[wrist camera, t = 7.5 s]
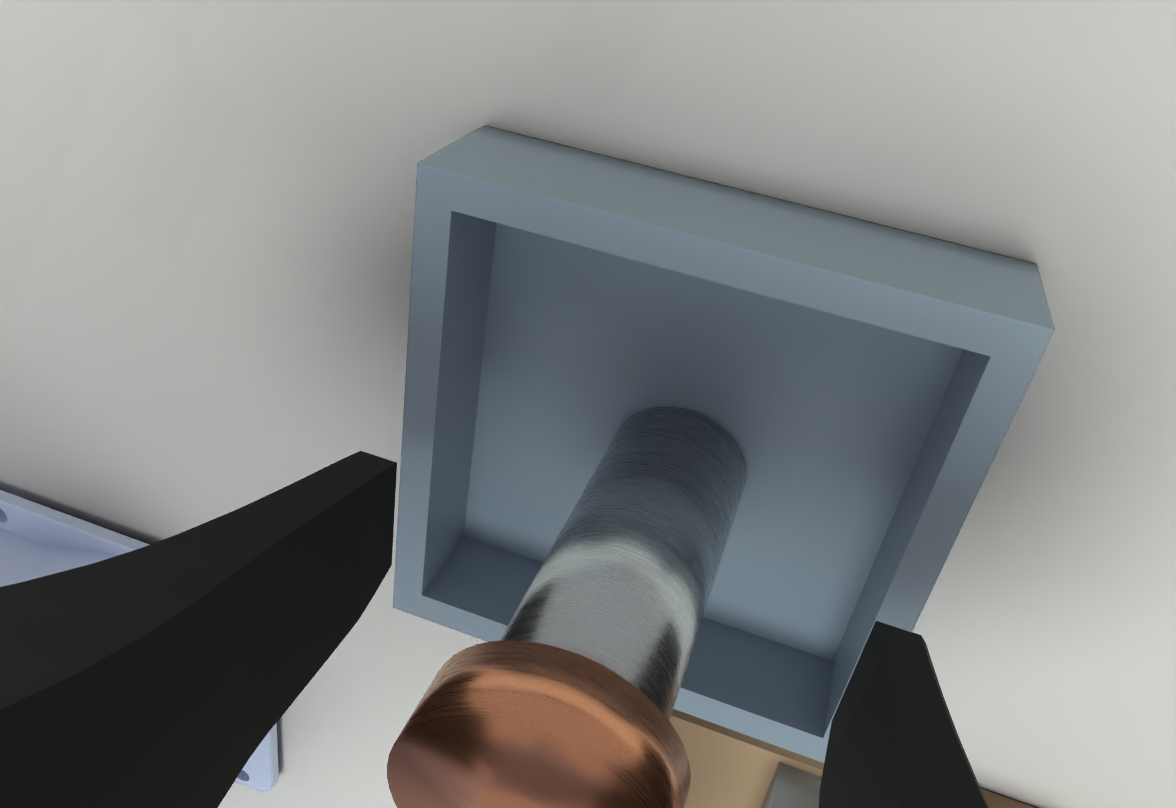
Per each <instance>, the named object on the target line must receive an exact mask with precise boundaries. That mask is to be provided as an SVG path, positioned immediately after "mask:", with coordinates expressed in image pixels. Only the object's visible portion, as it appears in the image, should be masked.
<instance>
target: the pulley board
mask: <svg viewBox="0 0 1176 808" xmlns="http://www.w3.org/2000/svg"><path fill="white" fill-rule="evenodd" d="M670 722H671V724H672V726H673V727H674V729H675V730H676V732H677V733H678V735H679V737H680V739H681V741H682V743H683V745H684V747H685V750H686V753H687V756H688V760H689V764H690V772H691V780H690V789H689V793H688V796H687V800H686V804H685V807H684V808H819V794H820V785H821V779H822V773H823V767H824V763H822V762H820V761H817V760H814V759H811V758H809V757H806V756H803V755H800V754H797V753H795V752H792V751H789V750H786V749H784V748H781V747H778V746H775V745H773V744H770V743H767V742H764V741H761V740H759V739H756V738H753V737H750V736H748V735H745V734H742V733H739V732H737V731H734V730H731V729H728V728H725V727H723V726H720V725H717V724H714V723H712V722H709V721H706V720H703V719H701V718H698V717H695V716H692V715H690V714H687V713H684V712H681V711H678V710H676V709H673V712H672V715H671V718H670ZM980 789H981V788H980ZM981 791H982V793H983V795H984V798H985V800H986V802H987V804H988V806H989V808H1035V807H1032V806H1029V805H1026V804H1024V803H1021V802H1018V801H1015V800H1012V799H1010V798H1007V797H1004V796H1001V795H998V794H995V793H993V792H990V791H987V790H984V789H981Z"/></svg>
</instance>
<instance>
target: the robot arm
mask: <svg viewBox="0 0 1176 808" xmlns="http://www.w3.org/2000/svg"><path fill="white" fill-rule="evenodd" d="M396 470H397V463H396V462H393V461H390V460H387V459H384V458H381V457H378V456H375V455H372V454H369V453H366V452H362V451H359V452H357V453H355V454H353V455H350V456H348V457H346V458H344V459H342V460H340V461H338V462H336V463H334V464H332V465H329V466H327V467H325V468H323V469H321V470H319V471H317V472H315V473H313V474H311V475H309V476H307V477H305V478H303V479H301V480H299V481H297V482H295V483H293V484H291V485H289V486H287V487H284V488H282V489H280V490H278V491H276V492H274V493H272V494H270V495H267V496H265V497H263V498H261V499H259V500H257V501H255V502H253V503H250V504H248V505H246V506H244V507H242V508H240V509H237V510H235V511H233V512H230V513H228V514H225V515H223V516H221V517H218V518H216V519H213V520H211V521H209V522H206V523H204V524H201V525H199V526H197V527H194V528H192V529H190V530H187V531H185V532H182V533H180V534H178V535H175V536H172V537H170V538H167V539H164V540H162V541H159V542H156V543H153V544H151V545H149V544H147V543H144V542H141V541H138V540H136V539H133V538H130V537H128V536H125V535H122V534H119V533H117V532H114V531H111V530H109V529H106V528H103V527H100V526H98V525H95V524H92V523H89V522H87V521H84V520H81V519H79V518H76V517H73V516H70V515H68V514H65V513H62V512H59V511H57V510H54V509H51V508H49V507H46V506H43V505H40V504H38V503H35V502H32V501H29V500H27V499H24V498H21V497H19V496H16V495H13V494H10V493H8V492H5V491H2V490H0V808H217V807H218V806H219V804H220V803H221V801H222V800H223V798H224V797H225V795H226V794H227V792H228V790H229V789H230V787H231V786H232V784H233V783H234V781H235V782H238V783H240V784H243V785H245V786H248V787H250V788H252V789H255V790H257V791H261V792H268V791H270V790H271V789H272V788H273V787H274V786H275V784H276V783H277V781H278V778H279V772H278V746H277V721H278V720H279V719H280V717H281V716H282V715H283V714H284V713H285V711H286V710H287V709H288V708H289V706H290V705H291V704H292V703H293V701H294V700H295V699H296V698H297V696H298V695H299V694H300V693H301V691H302V690H303V689H304V688H305V686H306V685H307V684H308V683H309V681H310V680H311V679H312V678H313V677H314V675H315V674H316V673H317V672H318V670H319V669H320V668H321V667H322V665H323V664H324V663H325V662H326V660H327V659H328V658H329V657H330V655H331V654H332V653H333V652H334V650H335V649H336V648H337V647H338V645H339V644H340V643H341V641H342V640H343V639H344V638H345V636H346V635H347V634H348V633H349V631H350V630H351V629H352V627H353V626H354V625H355V624H356V622H357V621H358V620H359V618H360V617H361V615H362V613H363V612H364V610H365V609H366V607H367V605H368V604H369V602H370V601H371V599H372V597H373V596H374V594H375V592H376V591H377V589H378V587H379V585H380V584H381V582H382V580H383V579H384V577H385V575H386V574H387V572H388V570H389V568H390V567H391V565H392V546H393V527H394V508H395V489H396ZM819 808H989V806H988V804H987V802H986V800H985V798H984V795H983V793H982V791H981V789H980V787H979V784H978V782H977V780H976V777H975V775H974V773H973V770H972V768H971V765H970V763H969V761H968V758H967V756H966V754H965V751H964V749H963V746H962V744H961V742H960V739H959V737H958V734H957V731H956V729H955V726H954V724H953V721H952V718H951V716H950V713H949V710H948V708H947V705H946V702H945V699H944V697H943V694H942V691H941V688H940V685H939V682H938V679H937V676H936V673H935V670H934V667H933V664H932V661H931V658H930V655H929V652H928V649H927V645H926V643H925V641H924V640H923V638H922V636H921V635H918V634H915V633H912V632H909V631H906V630H903V629H900V628H897V627H894V626H891V625H888V624H885V623H882V622H879V621H875V624H874V626H873V628H872V631H871V633H870V635H869V637H868V640H867V642H866V644H865V646H864V649H863V651H862V653H861V656H860V658H859V660H858V662H857V665H856V667H855V669H854V671H853V674H852V676H851V678H850V681H849V683H848V685H847V687H846V690H845V692H844V694H843V696H842V699H841V701H840V703H839V706H838V708H837V710H836V712H835V715H834V717H833V719H832V723H831V729H830V734H829V739H828V745H827V750H826V756H825V761H824V767H823V773H822V779H821V785H820V794H819Z"/></svg>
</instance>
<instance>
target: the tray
mask: <svg viewBox="0 0 1176 808" xmlns="http://www.w3.org/2000/svg"><path fill="white" fill-rule="evenodd" d="M1054 330H1055V328H1054V325H1053V321H1052V318H1051V314H1050V310H1049V307H1048V303H1047V300H1046V296H1045V292H1044V289H1043V285H1042V282H1041V278H1040V274H1039V271H1038V267H1037V264H1034V263H1030V262H1026V261H1022V260H1018V259H1014V258H1010V257H1006V256H1002V255H998V254H994V253H990V252H986V251H982V250H978V249H974V248H970V247H966V246H962V245H958V244H955V243H951V242H947V241H943V240H939V239H935V238H931V237H927V236H923V235H919V234H915V233H911V232H907V231H903V230H899V229H895V228H891V227H887V226H883V225H879V224H875V223H871V222H867V221H863V220H859V219H855V218H851V217H847V216H843V215H839V214H835V213H831V212H827V211H823V210H819V209H815V208H811V207H807V206H803V205H799V204H795V203H791V202H787V201H783V200H779V199H775V198H771V197H767V196H763V195H759V194H755V193H751V192H747V191H743V190H739V189H735V188H731V187H727V186H723V185H719V184H715V183H711V182H707V181H703V180H699V179H695V178H691V177H687V176H683V175H679V174H675V173H671V172H667V171H663V170H659V169H655V168H651V167H647V166H643V165H639V164H635V163H631V162H627V161H623V160H619V159H615V158H611V157H607V156H603V155H599V154H595V153H591V152H587V151H583V150H579V149H575V148H571V147H567V146H563V145H559V144H555V143H551V142H548V141H544V140H540V139H536V138H532V137H528V136H524V135H520V134H516V133H512V132H508V131H504V130H500V129H496V128H492V127H488V126H483V127H481V128H479V129H477V130H475V131H474V132H472V133H470V134H468V135H466V136H465V137H463V138H461V139H459V140H457V141H456V142H454V143H452V144H450V145H448V146H447V147H445V148H443V149H441V150H439V151H437V152H436V153H434V154H432V155H430V156H428V157H427V158H425V159H423V160H421V161H419V162H418V164H417V182H416V200H415V218H414V236H413V254H412V272H411V290H410V308H409V326H408V344H407V362H406V380H405V398H404V416H403V434H402V452H401V469H400V487H399V505H398V523H397V541H396V559H395V577H394V595H393V608H396V609H399V610H402V611H404V612H407V613H410V614H413V615H415V616H418V617H421V618H424V619H426V620H429V621H432V622H435V623H438V624H440V625H443V626H446V627H449V628H451V629H454V630H457V631H460V632H462V633H465V634H468V635H471V636H474V637H476V638H479V639H482V640H485V641H487V642H491V641H500V639H501V637H502V635H503V634H504V632H505V630H506V628H507V627H508V625H509V623H510V621H511V619H512V618H513V616H514V614H515V612H516V610H517V609H518V607H519V605H520V603H521V602H522V600H523V598H524V596H525V594H526V593H527V591H528V589H529V587H530V585H531V584H532V582H533V580H534V578H535V577H536V575H537V573H538V571H539V569H540V568H541V566H542V564H543V562H544V560H545V559H546V557H547V555H548V553H549V552H550V550H551V548H552V546H553V544H554V543H555V541H556V539H557V537H558V535H559V534H560V532H561V530H562V528H563V527H564V525H565V523H566V521H567V519H568V518H569V516H570V514H571V512H572V510H573V509H574V507H575V505H576V503H577V502H578V500H579V498H580V496H581V494H582V493H583V491H584V489H585V487H586V485H587V484H588V482H589V480H590V478H591V477H592V475H593V473H594V471H595V469H596V468H597V466H598V464H599V462H600V460H601V459H602V457H603V455H604V453H605V452H606V450H607V448H608V446H609V444H610V443H611V441H612V439H613V437H614V435H615V434H616V432H617V430H618V429H619V428H620V426H621V425H622V424H623V423H624V422H625V421H626V420H627V419H629V418H630V417H632V416H633V415H635V414H637V413H639V412H641V411H644V410H647V409H652V408H657V407H676V408H682V409H686V410H690V411H693V412H696V413H698V414H701V415H703V416H705V417H707V418H709V419H710V420H712V421H713V422H715V423H716V424H718V425H719V426H720V427H721V428H723V429H724V430H725V431H726V432H727V433H728V434H729V435H730V436H731V438H732V439H733V440H734V442H735V443H736V444H737V446H738V448H739V450H740V452H741V454H742V457H743V459H744V463H745V468H746V482H745V487H744V490H743V493H742V497H741V500H740V503H739V506H738V509H737V512H736V515H735V518H734V521H733V525H732V528H731V531H730V534H729V537H728V540H727V543H726V546H725V550H724V553H723V556H722V559H721V562H720V565H719V568H718V571H717V575H716V578H715V581H714V584H713V587H712V590H711V593H710V596H709V599H708V603H707V606H706V609H705V612H704V615H703V618H702V621H701V624H700V628H699V631H698V634H697V637H696V640H695V643H694V646H693V649H692V653H691V656H690V659H689V662H688V665H687V668H686V671H685V674H684V677H683V681H682V684H681V687H680V690H679V693H678V696H677V699H676V702H675V706H674V709H676V710H678V711H681V712H684V713H687V714H690V715H692V716H695V717H698V718H701V719H703V720H706V721H709V722H712V723H714V724H717V725H720V726H723V727H725V728H728V729H731V730H734V731H737V732H739V733H742V734H745V735H748V736H750V737H753V738H756V739H759V740H761V741H764V742H767V743H770V744H773V745H775V746H778V747H781V748H784V749H786V750H789V751H792V752H795V753H797V754H800V755H803V756H806V757H809V758H811V759H814V760H817V761H820V762H822V763H824V761H825V756H826V750H827V745H828V739H829V734H830V729H831V723H832V719H833V717H834V715H835V712H836V710H837V708H838V706H839V703H840V701H841V699H842V696H843V694H844V692H845V690H846V687H847V685H848V683H849V681H850V678H851V676H852V674H853V671H854V669H855V667H856V665H857V662H858V660H859V658H860V656H861V653H862V651H863V649H864V646H865V644H866V642H867V640H868V637H869V635H870V633H871V631H872V628H873V626H874V624H875V621H879V622H882V623H885V624H888V625H891V626H894V627H897V628H900V629H903V630H906V631H909V632H912V631H913V629H914V626H915V624H916V622H917V620H918V618H919V616H920V614H921V612H922V610H923V607H924V605H925V603H926V601H927V599H928V597H929V595H930V593H931V591H932V588H933V586H934V584H935V582H936V580H937V578H938V576H939V574H940V572H941V569H942V567H943V565H944V563H945V561H946V559H947V557H948V555H949V552H950V550H951V548H952V546H953V544H954V542H955V540H956V538H957V536H958V533H959V531H960V529H961V527H962V525H963V523H964V521H965V519H966V517H967V514H968V512H969V510H970V508H971V506H972V504H973V502H974V500H975V498H976V495H977V493H978V491H979V489H980V487H981V485H982V483H983V481H984V478H985V476H986V474H987V472H988V470H989V468H990V466H991V464H992V462H993V459H994V457H995V455H996V453H997V451H998V449H999V447H1000V445H1001V443H1002V440H1003V438H1004V436H1005V434H1006V432H1007V430H1008V428H1009V426H1010V424H1011V421H1012V419H1013V417H1014V415H1015V413H1016V411H1017V409H1018V407H1019V404H1020V402H1021V400H1022V398H1023V396H1024V394H1025V392H1026V390H1027V388H1028V385H1029V383H1030V381H1031V379H1032V377H1033V375H1034V373H1035V371H1036V369H1037V366H1038V364H1039V362H1040V360H1041V358H1042V356H1043V354H1044V352H1045V350H1046V347H1047V345H1048V343H1049V341H1050V339H1051V337H1052V335H1053V333H1054Z"/></svg>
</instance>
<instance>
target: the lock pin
mask: <svg viewBox="0 0 1176 808" xmlns="http://www.w3.org/2000/svg"><path fill="white" fill-rule="evenodd" d="M745 482H746V468H745V463H744V459H743V457H742V454H741V452H740V450H739V448H738V446H737V444H736V443H735V442H734V440H733V439H732V438H731V436H730V435H729V434H728V433H727V432H726V431H725V430H724V429H723V428H721V427H720V426H719V425H718V424H716V423H715V422H713V421H712V420H710V419H709V418H707V417H705V416H703V415H701V414H698V413H696V412H693V411H690V410H686V409H682V408H676V407H657V408H652V409H647V410H644V411H641V412H639V413H637V414H635V415H633V416H632V417H630V418H629V419H627V420H626V421H625V422H624V423H623V424H622V425H621V426H620V428H619V429H618V430H617V432H616V434H615V435H614V437H613V439H612V441H611V443H610V444H609V446H608V448H607V450H606V452H605V453H604V455H603V457H602V459H601V460H600V462H599V464H598V466H597V468H596V469H595V471H594V473H593V475H592V477H591V478H590V480H589V482H588V484H587V485H586V487H585V489H584V491H583V493H582V494H581V496H580V498H579V500H578V502H577V503H576V505H575V507H574V509H573V510H572V512H571V514H570V516H569V518H568V519H567V521H566V523H565V525H564V527H563V528H562V530H561V532H560V534H559V535H558V537H557V539H556V541H555V543H554V544H553V546H552V548H551V550H550V552H549V553H548V555H547V557H546V559H545V560H544V562H543V564H542V566H541V568H540V569H539V571H538V573H537V575H536V577H535V578H534V580H533V582H532V584H531V585H530V587H529V589H528V591H527V593H526V594H525V596H524V598H523V600H522V602H521V603H520V605H519V607H518V609H517V610H516V612H515V614H514V616H513V618H512V619H511V621H510V623H509V625H508V627H507V628H506V630H505V632H504V634H503V635H502V637H501V639H500V641H491V642H486V643H482V644H477V645H474V646H472V647H469V648H466V649H464V650H462V651H460V652H459V653H457V654H455V655H454V656H453V657H451V658H450V659H449V660H448V661H447V662H446V663H445V664H444V665H443V666H442V668H441V669H440V670H439V672H438V673H437V675H436V676H435V678H434V680H433V681H432V683H431V685H430V686H429V688H428V690H427V691H426V693H425V694H424V696H423V698H422V699H421V701H420V703H419V704H418V706H417V708H416V709H415V711H414V712H413V714H412V716H411V717H410V719H409V721H408V722H407V724H406V725H405V727H404V729H403V730H402V732H401V734H400V735H399V737H398V739H397V740H396V742H395V743H394V745H393V747H392V750H391V752H390V754H389V759H388V763H387V778H388V783H389V788H390V791H391V794H392V797H393V800H394V802H395V804H396V806H397V808H684V807H685V804H686V800H687V796H688V793H689V789H690V780H691V772H690V764H689V760H688V756H687V753H686V750H685V747H684V745H683V743H682V741H681V739H680V737H679V735H678V733H677V732H676V730H675V729H674V727H673V726H672V724H671V722H670V718H671V715H672V712H673V709H674V706H675V702H676V699H677V696H678V693H679V690H680V687H681V684H682V681H683V677H684V674H685V671H686V668H687V665H688V662H689V659H690V656H691V653H692V649H693V646H694V643H695V640H696V637H697V634H698V631H699V628H700V624H701V621H702V618H703V615H704V612H705V609H706V606H707V603H708V599H709V596H710V593H711V590H712V587H713V584H714V581H715V578H716V575H717V571H718V568H719V565H720V562H721V559H722V556H723V553H724V550H725V546H726V543H727V540H728V537H729V534H730V531H731V528H732V525H733V521H734V518H735V515H736V512H737V509H738V506H739V503H740V500H741V497H742V493H743V490H744V487H745Z"/></svg>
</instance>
